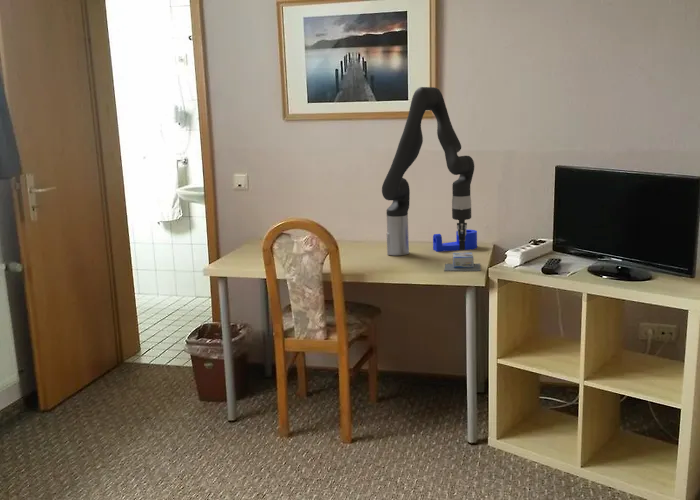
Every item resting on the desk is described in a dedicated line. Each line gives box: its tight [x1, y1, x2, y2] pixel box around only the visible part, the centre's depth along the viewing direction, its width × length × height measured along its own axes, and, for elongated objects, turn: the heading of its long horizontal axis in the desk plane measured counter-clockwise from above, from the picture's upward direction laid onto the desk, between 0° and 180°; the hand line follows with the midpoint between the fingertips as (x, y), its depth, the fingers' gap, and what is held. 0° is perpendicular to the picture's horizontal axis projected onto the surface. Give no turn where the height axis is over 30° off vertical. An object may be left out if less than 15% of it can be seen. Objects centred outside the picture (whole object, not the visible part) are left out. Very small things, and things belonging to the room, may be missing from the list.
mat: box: [443, 263, 482, 272], centre depth 284 cm, size 14×11×1 cm
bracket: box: [432, 229, 478, 253], centre depth 319 cm, size 20×9×8 cm, turn 103°
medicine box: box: [452, 252, 475, 268], centre depth 285 cm, size 8×4×9 cm
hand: (462, 249), depth 286 cm, fingers closed
